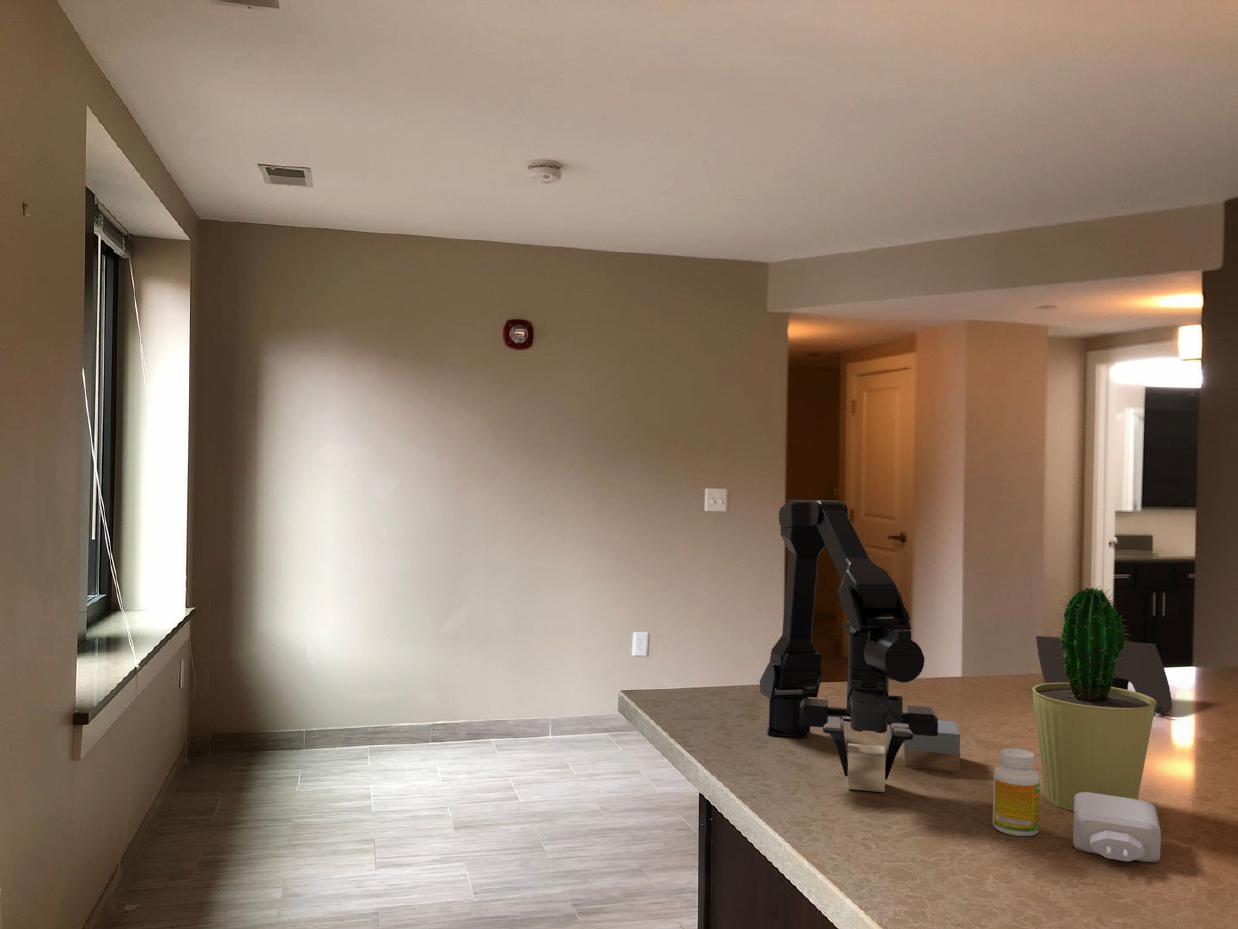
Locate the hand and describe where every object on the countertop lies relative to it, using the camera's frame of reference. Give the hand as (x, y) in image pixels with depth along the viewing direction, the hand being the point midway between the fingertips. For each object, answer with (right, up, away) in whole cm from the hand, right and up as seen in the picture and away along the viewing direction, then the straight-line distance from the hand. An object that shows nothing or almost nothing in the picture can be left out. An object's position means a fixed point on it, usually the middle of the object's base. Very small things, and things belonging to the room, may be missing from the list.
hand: (865, 777), depth 142 cm
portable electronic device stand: (+61, -3, +57) cm, 84 cm away
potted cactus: (+30, -2, -4) cm, 30 cm away
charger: (+24, -2, -22) cm, 33 cm away
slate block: (+13, +1, +13) cm, 19 cm away
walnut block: (+13, -2, +13) cm, 19 cm away
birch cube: (0, -1, 0) cm, 1 cm away
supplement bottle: (+15, -2, -16) cm, 22 cm away
